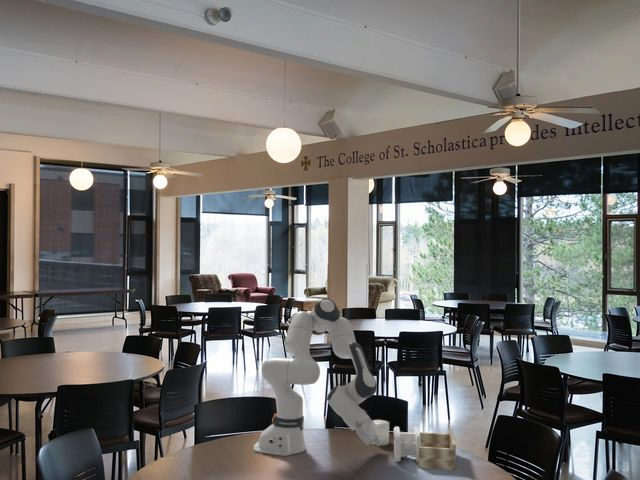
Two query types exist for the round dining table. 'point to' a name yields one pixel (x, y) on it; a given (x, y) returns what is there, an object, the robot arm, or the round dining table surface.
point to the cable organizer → (406, 444)
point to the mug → (382, 431)
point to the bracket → (437, 451)
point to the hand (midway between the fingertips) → (380, 444)
